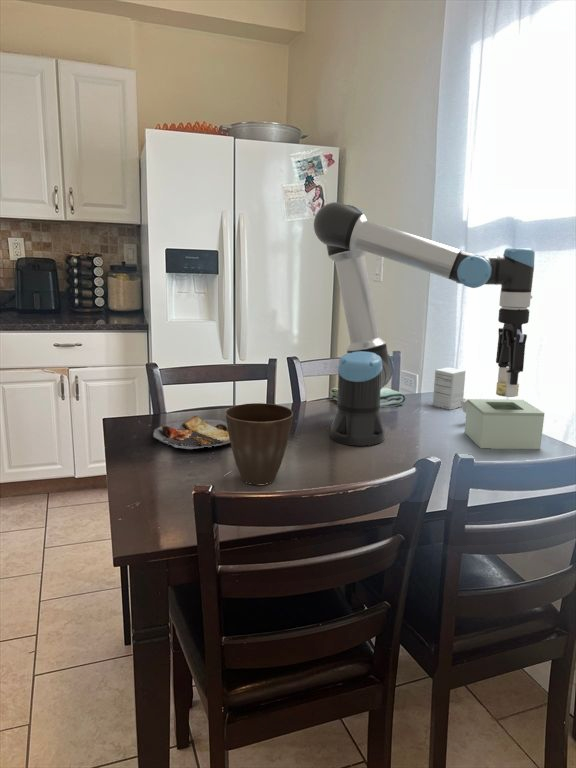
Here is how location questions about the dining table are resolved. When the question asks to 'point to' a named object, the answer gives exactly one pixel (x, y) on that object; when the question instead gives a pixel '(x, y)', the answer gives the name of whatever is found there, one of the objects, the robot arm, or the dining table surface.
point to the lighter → (464, 404)
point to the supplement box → (448, 388)
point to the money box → (504, 424)
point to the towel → (381, 397)
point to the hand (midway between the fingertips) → (506, 393)
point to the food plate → (195, 424)
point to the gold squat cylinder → (503, 389)
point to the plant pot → (258, 439)
